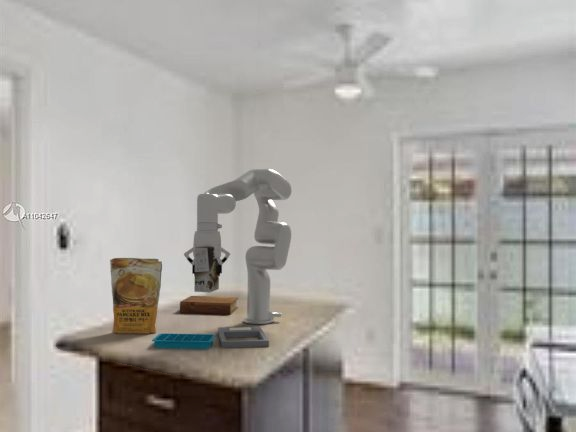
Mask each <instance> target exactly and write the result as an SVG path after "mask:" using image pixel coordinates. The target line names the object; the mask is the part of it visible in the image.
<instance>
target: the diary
mask: <svg viewBox="0 0 576 432" xmlns="http://www.w3.org/2000/svg"><path fill="white" fill-rule="evenodd" d="M238 300H239V296H238V297H237V296H236V297H235V296H212V295H211V296H210V295H209V296H207V295H205V296H204V295H203V296H201V295H190V296H188V297H186V298H185V299H183V300H181V301H179V302H180V303H179V313H180V314H190V315H191V314H192V315H193V314H194V315H195V314H196V315H220V316H221V315H228V316H229V315H230V316H231V315H232V314H234V312H236V311H237V310H238V309H239V306H237V301H238Z"/></svg>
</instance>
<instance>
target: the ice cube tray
mask: <svg viewBox="0 0 576 432" xmlns="http://www.w3.org/2000/svg"><path fill="white" fill-rule="evenodd" d="M215 337H217V335H216V334H214V333H213V334H211V333H173V332H172V333H171V332H170V333H167V332H166V333H164V332H161V333H158V334H157V335H155V337H153V338H152V339H151V341H152V342H154V348H155V349H181V348H183V349H184V348H185V350H186V349H188V350H190V349H191V350H192V349H193V350H208V349H210V348H211V346H212V345H213V343H214V340H215Z"/></svg>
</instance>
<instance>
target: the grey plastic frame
mask: <svg viewBox="0 0 576 432" xmlns="http://www.w3.org/2000/svg"><path fill="white" fill-rule="evenodd" d="M217 335H218V338H219V341H220V342H219V343H220V345H221V348H222V349H224V348H254V347H255V348H257V347H258V348H261V347H270V340H269V338H268V336H267V335H266V334H265V332H264V331H263V329H262V327H261V326H224V327H223V326H222V327H221V326H218V327H217ZM227 338H228V339H229V338H259V339H243V340H241V339H239V340H227Z"/></svg>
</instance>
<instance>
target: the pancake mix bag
mask: <svg viewBox="0 0 576 432" xmlns="http://www.w3.org/2000/svg"><path fill="white" fill-rule="evenodd" d="M109 263H110V277H111V280H110V281H111V283H110V284H111V295H112V312H113V326H112V330H111V332H112V333H113V334H114V333H115V334H117V335H118V334H120V335H121V334H122V335H150V333H151V334H156V333H157V330H156V329H157V328H156V322H157V316H158V307H159V300H160V291H161V285H162V270H163V264H162V261H159V259H158V258H140V257H139V258H138V257H114V258H112V259H110V260H109Z"/></svg>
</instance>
